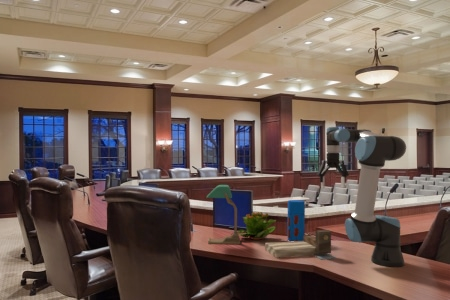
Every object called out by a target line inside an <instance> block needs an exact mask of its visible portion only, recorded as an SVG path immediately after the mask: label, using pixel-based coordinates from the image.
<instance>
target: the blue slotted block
mask: <svg viewBox="0 0 450 300" xmlns="http://www.w3.org/2000/svg"><path fill="white" fill-rule="evenodd" d="M305 204H306V203H305V200H301V199H300V200H299V199H290V200H289V199H288V201H287V241H288V240H289V241H288V242H291V241H303V235H306V233H305V230H306V227H305V224H306V222H305V221H306V215H305V214H306V213H305V212H306V210H305V209H306V205H305Z"/></svg>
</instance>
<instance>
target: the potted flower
mask: <svg viewBox="0 0 450 300" xmlns="http://www.w3.org/2000/svg"><path fill="white" fill-rule="evenodd" d="M267 217H269V213H265V214H264V213H263V212H252V213H251V214H250V213H248V214H246V215H245V216H242V219H243V223H244V224H245V228H246V230H244V229H239V230H237V232H238V235H239V236H241V237H242V238H248V239H250V240H256V241H257V240H258V241H259V240H264V239H265V237H267V236H269V235H270V234H271V233H272V232H275V229H276V226H274V225H273V226H271V225H272V224H273V223H276V219H272V218H271V219H269V220H268V221H267Z"/></svg>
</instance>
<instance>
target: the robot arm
mask: <svg viewBox="0 0 450 300" xmlns="http://www.w3.org/2000/svg"><path fill="white" fill-rule="evenodd" d="M325 133H326V160H321V164H320V167H319V169H318V171H317V173H316V176H317V177H319V182H320V188H322V189H325V175H326V174H327V172H328V171H329V170H330V169H336V170H337V171H338V172H339V174H340V175H341V176H340V178H341V179H340V187H341V188H343V189H345V186H346V181H347V179H346V178H347V177H348V176H350V174H349V172H348V169H347V168H346V165H345V160H340V143H355V148H354V153H355V154H354V156H355V159H356V160H357V161H358V164H359V165H360V172H359V179H358V180H359V181H358V186H357V193H356V201H355V206H354V207H355V209H354V211H352V212H351V215H350V217H349V218H346V219H345V221H344V228H345V229H344V230H345V233H346V236H347V237H348V239H349V241H351V242H353V243H374V248H373V249H372V250H373V251H372V253H371V254H372V255H371V256H370V257H371V258H370V259H371V262H372V263H373V264H376V265H379V266H384V267H393V268H395V267H397V268H398V267H403V266H405V258H404V255H403V252H402V250H401V221H400V219H398V218H396V217H392V216H387V215H382V214H381V215H380V214H375V215H374V212H375V206H376V200H377V192H378V185H379V181H380V173H381V169H382V168H384V167H385V163H386V161H387V162H388V161H389V162H390V161H396V160H399V159H401V158H402V157H403V156H404V155H405V153H406V151H407V145H406V142H405V140H404V139H402V137H401V138H400V137H399V136H393V135H389V136H388V135H382V134H380V133H379V134H378V133H374V132H372V130H370V129H364V128H363V129H346V128H339V126H331V127H330V126H329V127H326V132H325Z"/></svg>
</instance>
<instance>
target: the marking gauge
mask: <svg viewBox="0 0 450 300" xmlns="http://www.w3.org/2000/svg"><path fill="white" fill-rule="evenodd" d="M314 234H315V235H314ZM314 234H313V235H312V234H311V233H310V232H308V233H307V234H305V235H303V241H304V242H306V243H308V244H310V245H312V246H314V247H315V252H317V253H319V254H324V253H328V254H331V253H332V231H331V230H329V229H319V230H317V229H316V230H315V233H314Z"/></svg>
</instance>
